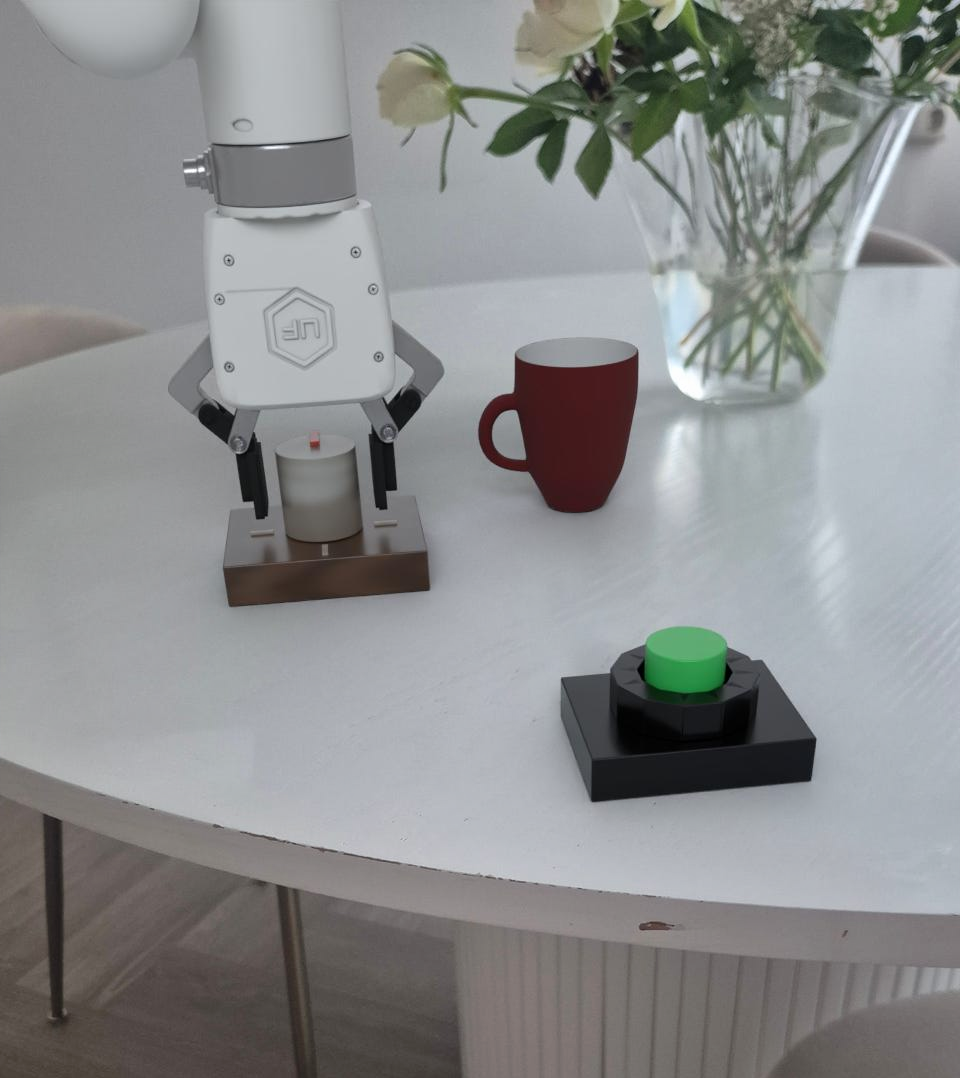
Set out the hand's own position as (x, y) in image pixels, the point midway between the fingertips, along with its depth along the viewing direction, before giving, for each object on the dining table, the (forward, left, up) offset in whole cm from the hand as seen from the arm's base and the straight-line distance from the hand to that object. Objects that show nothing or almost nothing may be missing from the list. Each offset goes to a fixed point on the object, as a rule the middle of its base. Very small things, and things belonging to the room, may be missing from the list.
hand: (321, 504), depth 77 cm
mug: (+16, +8, -4) cm, 18 cm away
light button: (+16, -26, 0) cm, 31 cm away
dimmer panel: (0, 0, -4) cm, 4 cm away
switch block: (+16, -26, -4) cm, 31 cm away
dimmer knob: (0, 0, -1) cm, 1 cm away
